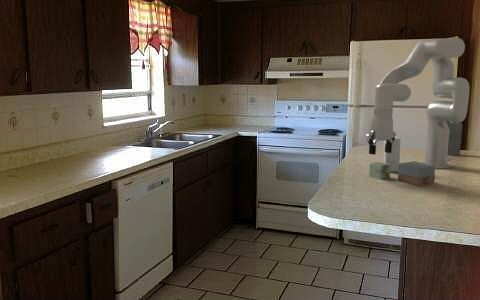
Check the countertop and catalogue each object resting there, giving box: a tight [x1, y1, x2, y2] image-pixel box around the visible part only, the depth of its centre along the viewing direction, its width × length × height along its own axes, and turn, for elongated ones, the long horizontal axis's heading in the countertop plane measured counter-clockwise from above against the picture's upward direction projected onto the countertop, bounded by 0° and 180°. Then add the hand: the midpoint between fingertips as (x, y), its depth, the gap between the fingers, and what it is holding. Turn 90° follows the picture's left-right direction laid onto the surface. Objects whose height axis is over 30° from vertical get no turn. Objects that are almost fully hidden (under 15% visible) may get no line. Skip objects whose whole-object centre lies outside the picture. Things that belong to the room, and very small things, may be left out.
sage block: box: [368, 161, 391, 180], centre depth 195 cm, size 6×6×6 cm
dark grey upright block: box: [446, 122, 463, 157], centre depth 248 cm, size 15×6×20 cm, turn 64°
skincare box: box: [382, 135, 401, 173], centre depth 208 cm, size 8×7×16 cm
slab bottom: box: [397, 172, 436, 187], centre depth 186 cm, size 10×10×4 cm
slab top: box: [397, 161, 436, 178], centre depth 186 cm, size 10×10×4 cm
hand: (380, 153), depth 193 cm, fingers open, 9 cm apart
